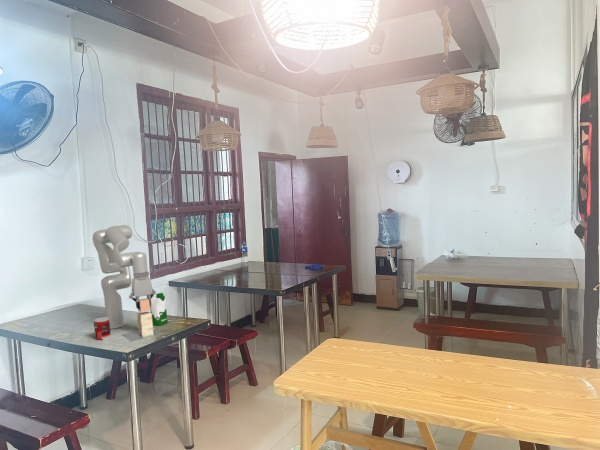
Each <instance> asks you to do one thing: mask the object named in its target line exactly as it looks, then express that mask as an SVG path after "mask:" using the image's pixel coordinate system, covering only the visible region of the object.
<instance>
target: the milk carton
mask: <svg viewBox="0 0 600 450" xmlns="http://www.w3.org/2000/svg"><path fill="white" fill-rule="evenodd" d="M150 306H151V307H150V310H149V312H150V313H152V323H153V327H162V326H164V325H167V324H169V322H168V321H169V320H168V313H167V295H164V293H163V292H159V293H156V294H155V295H154V296H153V297H152V298H151V305H150Z"/></svg>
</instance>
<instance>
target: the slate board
mask: <svg viewBox="0 0 600 450" xmlns="http://www.w3.org/2000/svg"><path fill="white" fill-rule="evenodd" d="M160 335H161V333H159V332H158V331H156V330H155V329H153V335H149V336H145V337H142V336H140V335H139V329H137V330H134V331H131V332H126V333H122V334H121V336H123V337H124V338H126V340H129V342H131V343H132V342H135V341H140V340H144V339H147V338H152V337H156V336H160Z"/></svg>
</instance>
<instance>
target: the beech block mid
mask: <svg viewBox="0 0 600 450" xmlns="http://www.w3.org/2000/svg"><path fill="white" fill-rule="evenodd" d="M136 317H137V326H138V325H140V326H145V325H150V324H153V323H152V313H150V311H145V312H138V313H137V314H136Z"/></svg>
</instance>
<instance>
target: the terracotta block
mask: <svg viewBox="0 0 600 450" xmlns="http://www.w3.org/2000/svg"><path fill="white" fill-rule="evenodd" d="M139 302H140V309H137V310H138V311H137V312H138V313H143V312H147V311H148V312H150V303H149V299H148V298H139Z"/></svg>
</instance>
